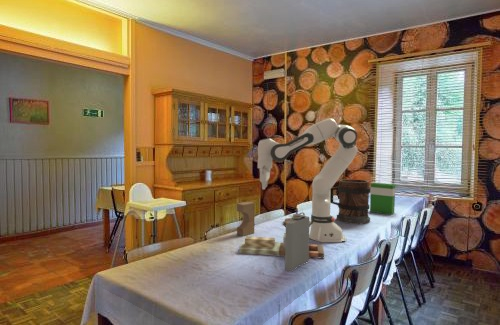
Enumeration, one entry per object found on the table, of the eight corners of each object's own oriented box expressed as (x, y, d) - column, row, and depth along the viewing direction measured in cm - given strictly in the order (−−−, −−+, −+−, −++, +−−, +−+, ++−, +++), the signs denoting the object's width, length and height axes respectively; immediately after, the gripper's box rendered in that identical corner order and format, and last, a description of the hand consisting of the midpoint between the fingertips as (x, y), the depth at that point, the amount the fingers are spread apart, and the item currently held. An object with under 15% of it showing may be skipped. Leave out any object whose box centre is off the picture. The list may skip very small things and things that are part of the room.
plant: (309, 221, 246) (310, 206, 245) (312, 228, 227) (312, 212, 226) (282, 220, 248) (283, 205, 247) (283, 227, 228) (283, 211, 228)
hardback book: (370, 211, 280) (370, 183, 278) (372, 210, 285) (373, 182, 284) (391, 214, 269) (392, 185, 267) (394, 212, 275) (395, 184, 273)
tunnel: (298, 245, 181) (298, 233, 180) (298, 250, 172) (298, 238, 172) (284, 244, 182) (284, 232, 181) (283, 249, 174) (283, 237, 173)
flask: (301, 259, 166) (302, 210, 165) (309, 261, 163) (310, 211, 162) (282, 269, 153) (282, 216, 151) (290, 272, 150) (291, 218, 148)
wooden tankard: (365, 225, 233) (366, 183, 231) (325, 220, 249) (325, 180, 247) (372, 219, 252) (374, 180, 250) (335, 214, 268) (336, 177, 266)
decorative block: (242, 236, 205) (242, 204, 203) (236, 234, 209) (236, 203, 208) (254, 233, 212) (255, 202, 211) (248, 231, 217) (249, 201, 215)
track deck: (322, 249, 181) (322, 244, 181) (324, 258, 168) (324, 253, 168) (244, 244, 189) (244, 240, 188) (239, 253, 175) (239, 248, 175)
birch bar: (275, 245, 181) (275, 237, 181) (274, 247, 176) (274, 240, 176) (246, 243, 183) (246, 236, 183) (244, 245, 179) (245, 238, 179)
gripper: (268, 166, 187) (268, 190, 188) (271, 164, 207) (271, 186, 208) (257, 166, 188) (257, 190, 189) (261, 164, 208) (261, 185, 209)
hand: (264, 188), depth 199 cm, fingers open, 8 cm apart
